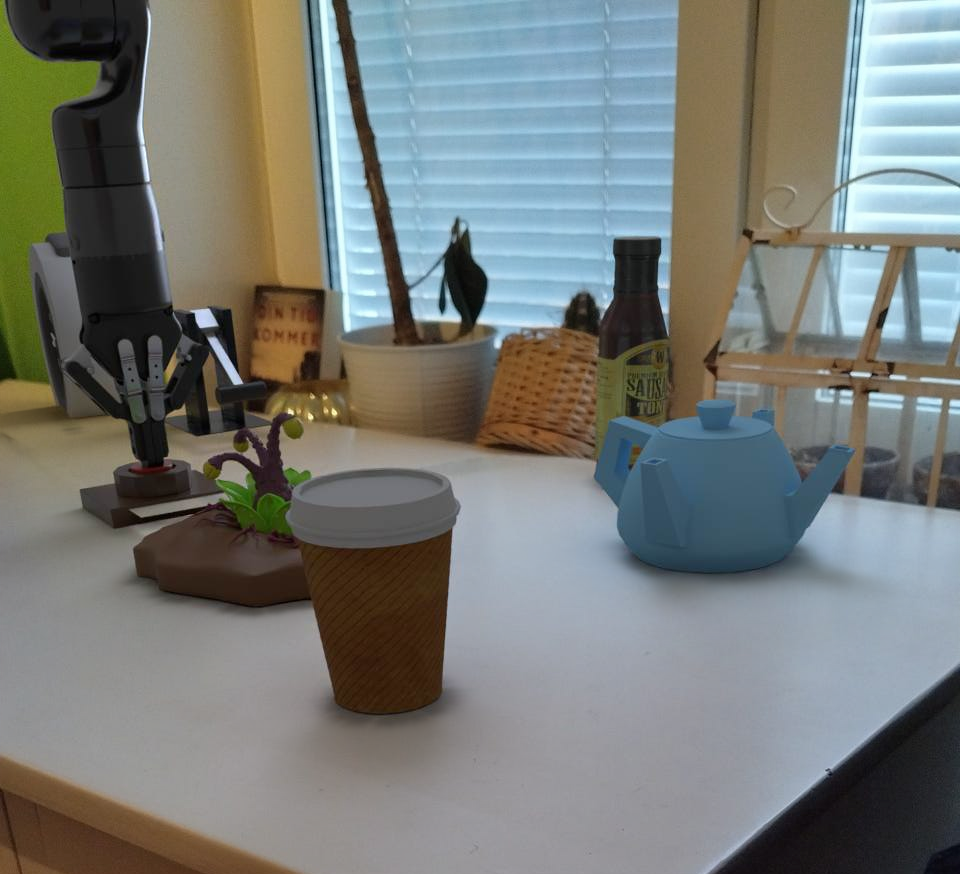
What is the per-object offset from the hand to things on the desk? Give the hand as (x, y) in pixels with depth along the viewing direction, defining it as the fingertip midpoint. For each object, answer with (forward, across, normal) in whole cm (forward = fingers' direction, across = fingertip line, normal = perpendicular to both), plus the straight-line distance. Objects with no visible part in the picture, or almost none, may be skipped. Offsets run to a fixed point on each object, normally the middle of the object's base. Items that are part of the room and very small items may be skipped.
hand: (152, 464), depth 115 cm
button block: (+4, 0, 0) cm, 4 cm away
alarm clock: (+4, -9, -47) cm, 48 cm away
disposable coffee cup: (+4, +4, +51) cm, 51 cm away
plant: (+4, -2, +23) cm, 23 cm away
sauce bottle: (+4, -38, +19) cm, 43 cm away
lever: (-4, -16, -23) cm, 28 cm away
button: (+2, 0, 0) cm, 2 cm away
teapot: (+4, -29, +41) cm, 50 cm away
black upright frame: (+4, -16, -26) cm, 31 cm away
